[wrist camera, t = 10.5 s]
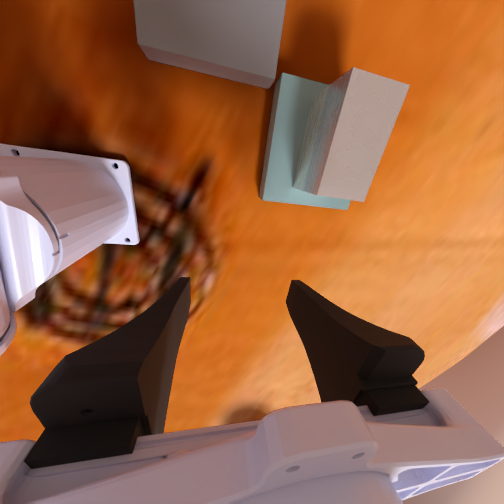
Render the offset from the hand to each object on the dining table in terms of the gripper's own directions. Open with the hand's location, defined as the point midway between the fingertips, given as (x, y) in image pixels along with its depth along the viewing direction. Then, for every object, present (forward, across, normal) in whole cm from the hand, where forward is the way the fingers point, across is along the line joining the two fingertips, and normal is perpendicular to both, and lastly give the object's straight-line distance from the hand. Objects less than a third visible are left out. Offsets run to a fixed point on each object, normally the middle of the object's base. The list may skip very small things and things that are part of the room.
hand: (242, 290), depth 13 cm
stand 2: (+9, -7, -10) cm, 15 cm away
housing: (+7, -7, -10) cm, 14 cm away
